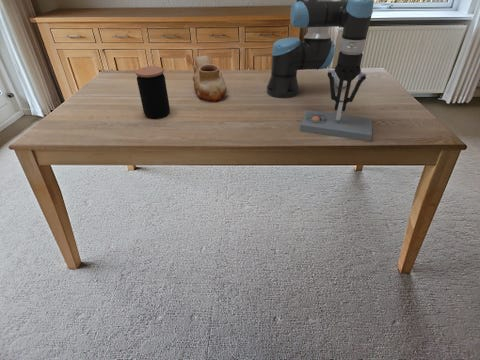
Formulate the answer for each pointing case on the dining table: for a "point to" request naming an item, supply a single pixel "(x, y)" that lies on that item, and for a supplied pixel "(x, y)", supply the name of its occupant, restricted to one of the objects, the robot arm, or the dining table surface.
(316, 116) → the ball
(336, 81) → the geometric ball
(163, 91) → the coffee jar
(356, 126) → the plate
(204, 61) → the ceramic vessel
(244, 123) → the dining table surface
